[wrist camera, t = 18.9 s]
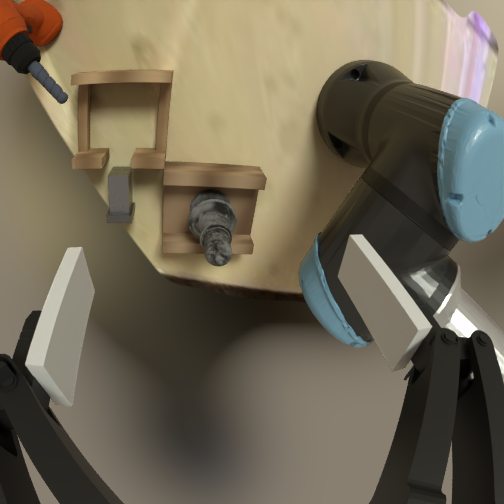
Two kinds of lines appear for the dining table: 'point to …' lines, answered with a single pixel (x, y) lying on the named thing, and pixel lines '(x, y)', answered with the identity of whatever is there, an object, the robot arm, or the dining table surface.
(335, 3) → the dining table surface
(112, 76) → the socket frame
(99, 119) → the dining table surface
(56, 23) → the toy drill
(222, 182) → the rack
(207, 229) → the chess piece
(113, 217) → the bar
